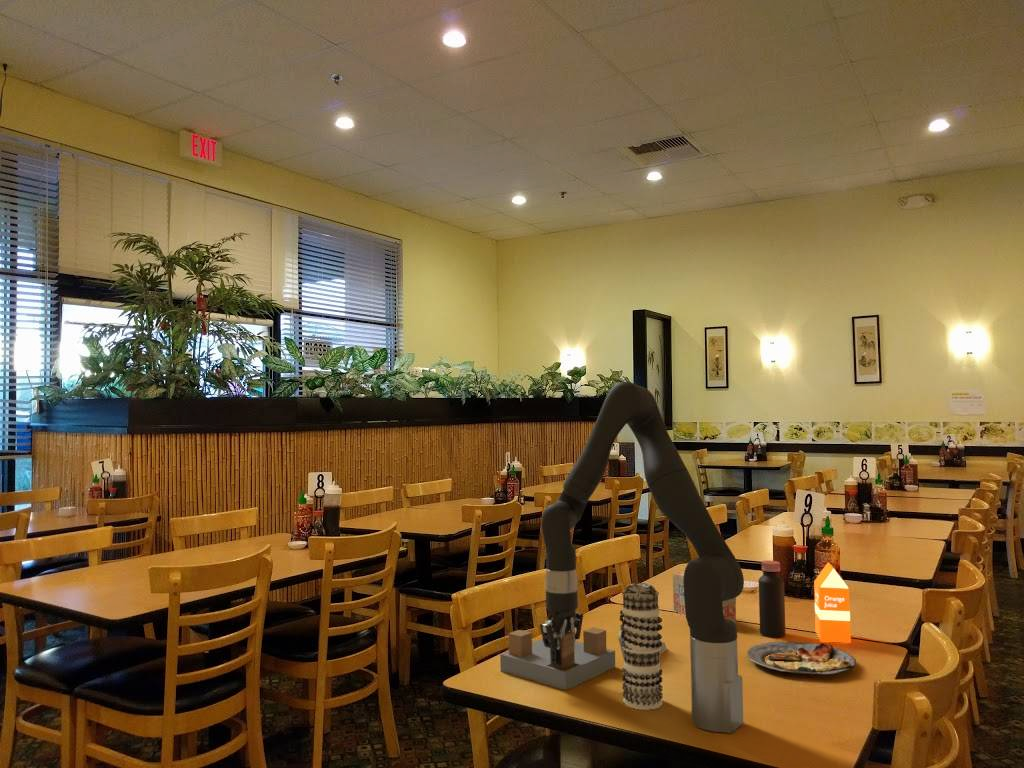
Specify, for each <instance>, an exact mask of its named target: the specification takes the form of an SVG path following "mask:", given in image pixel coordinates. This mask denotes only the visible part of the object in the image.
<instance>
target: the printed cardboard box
mask: <svg viewBox="0 0 1024 768" xmlns="http://www.w3.org/2000/svg"><path fill="white" fill-rule="evenodd" d="M683 579H684V571H679V572H673V573H672V592H673V595H672V596H673V598H672V599H673V612H674V611H676V612H678V613H681V614H684V615H686V614H685V601H684V586H683ZM736 600H737V597H735V598H733V599H730V600H726V601H722V604H723V614H724V618H727V619H729V620H732V621H733V622H734V623H735V624H736V625H737V616H736V615H737V612H736V608H737V606H736V605H737V601H736ZM676 612H675V613H676ZM678 613H677V614H678ZM681 614H680V615H681Z"/></svg>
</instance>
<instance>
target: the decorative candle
mask: <svg viewBox="0 0 1024 768" xmlns="http://www.w3.org/2000/svg"><path fill="white" fill-rule="evenodd" d="M621 594H622V597H623V599H622V604H623V605H622V609H621V610H620V611H619V614H620V615H619V621H620V622H621V624H620V625H619V626H620V631H622V632H621V637H622V638H623V641H622V648H623V649H624V658H623V667H622V670H621V672H622V674H623V675H622V679H621V680H622V681H624V682H623V683H622V685H621V689H622V697H623V700H622V703H623V702H624V703H625V704H626V705H627V706H626V705H625V704H624V703H623V704H624V705H625V706H626V707H628V706H629V707H628V708H630V707H631V708H630V709H633V708H635V709H634V710H638V709H639V710H640V711H650V709H653V710H656V709H660V708H661V707H662V706H663V692H662V691H663V685H662V683H663V677H662V675H663V670H662V669H661V661H660V655H659V651H660V650H661V646H662V643H661V642H660V641H658V640H662V638H663V636H662V634H661V633H659V632H660V631H661V630H663V626H662V625H661V624H660V623H662V622H663V619H662V617H660V616H659V615H660V606H659V595H660V592H659V591H658V590H656V588H655V586H654V585H652V584H649V583H642V582H635V583H630V584H628V585H627V586H626V587H625V589H624V590H622V591H621ZM624 635H625V636H624ZM641 709H642V710H641ZM639 710H638V711H639Z"/></svg>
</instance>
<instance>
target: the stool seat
mask: <svg viewBox="0 0 1024 768" xmlns="http://www.w3.org/2000/svg"><path fill="white" fill-rule="evenodd" d="M547 621H548V619H547V620H543V621H542V622H541V623H546V622H547ZM582 632H583V642H582V641H581V642H580V641H578V640H575V643H574V661H575V667H572V668H570V669H568V670H566V671H564V670H560V669H557V668H553V667H550V648H548V647H545V646H544V642H543V638H541V639H538V640H535V641H533V633H532V632H530V631H526V630H522V629H517V630H514V631H512V632H509V633H508V651H506V652H503V653H500V665H499V666H500V672H502V673H505V674H509V675H513V676H515V677H519V676H520V678H523V677H524V678H523V679H526V678H527V679H526V680H529V679H530V681H533V680H534V681H533V682H536V681H537V683H539V682H540V684H543V685H546V684H547V686H549V685H551V686H550V687H553V686H554V687H553V688H556V687H557V689H560V690H563V689H564V690H563V691H567V689H568V690H570V689H572V688H574V687H576V686H577V685H580V684H582V683H585V682H587V681H589V680H591V679H593V678H595V677H597V676H599V675H601V673H602V674H603V672H604V673H606V672H608V671H610V670H612V669H614V668H616V650H614V649H610V648H607V630H606V629H602V628H598V627H590V628H588V629H585V630H583V631H582ZM548 641H549V640H548ZM549 642H550V641H549ZM609 669H610V670H609ZM607 670H608V671H607ZM605 671H606V672H605ZM594 676H595V677H594ZM590 678H591V679H590ZM588 679H589V680H588ZM584 681H585V682H584ZM573 686H574V687H573ZM571 687H572V688H571ZM569 688H570V689H569Z"/></svg>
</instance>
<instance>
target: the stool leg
mask: <svg viewBox="0 0 1024 768" xmlns="http://www.w3.org/2000/svg"><path fill="white" fill-rule="evenodd" d="M554 633H555V632H554ZM555 634H556V635H559V633H555ZM555 643H557V638H555ZM560 649H561V665H559V666H556V665H553V664H552V662H551V648H550V667H553V668H557V669H560V670H564V671H566V670H568V669H570V668H572V667H575V661H574V632H573V633H571V632H569V631H568V632H565V633H564V636H563V639H562V640H561V648H560Z"/></svg>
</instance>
